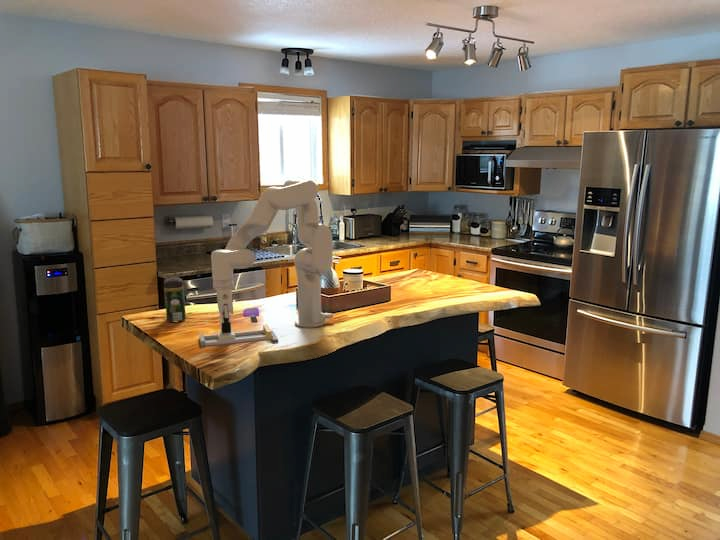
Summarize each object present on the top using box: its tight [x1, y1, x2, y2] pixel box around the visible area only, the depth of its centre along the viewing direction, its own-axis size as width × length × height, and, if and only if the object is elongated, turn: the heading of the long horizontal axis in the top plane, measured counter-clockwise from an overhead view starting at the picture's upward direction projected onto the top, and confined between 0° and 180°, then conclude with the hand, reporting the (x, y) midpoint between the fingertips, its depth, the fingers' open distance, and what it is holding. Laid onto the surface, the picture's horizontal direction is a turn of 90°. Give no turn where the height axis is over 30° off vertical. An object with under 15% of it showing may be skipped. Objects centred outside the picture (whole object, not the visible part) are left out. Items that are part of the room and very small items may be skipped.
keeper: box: [216, 314, 235, 340], centre depth 220 cm, size 6×6×9 cm
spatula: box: [242, 307, 260, 324], centre depth 253 cm, size 24×7×2 cm, turn 15°
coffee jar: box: [163, 276, 187, 322], centre depth 252 cm, size 10×8×19 cm
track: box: [198, 324, 279, 348], centre depth 223 cm, size 28×12×4 cm, turn 108°
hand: (225, 330), depth 221 cm, fingers closed on keeper, 4 cm apart
